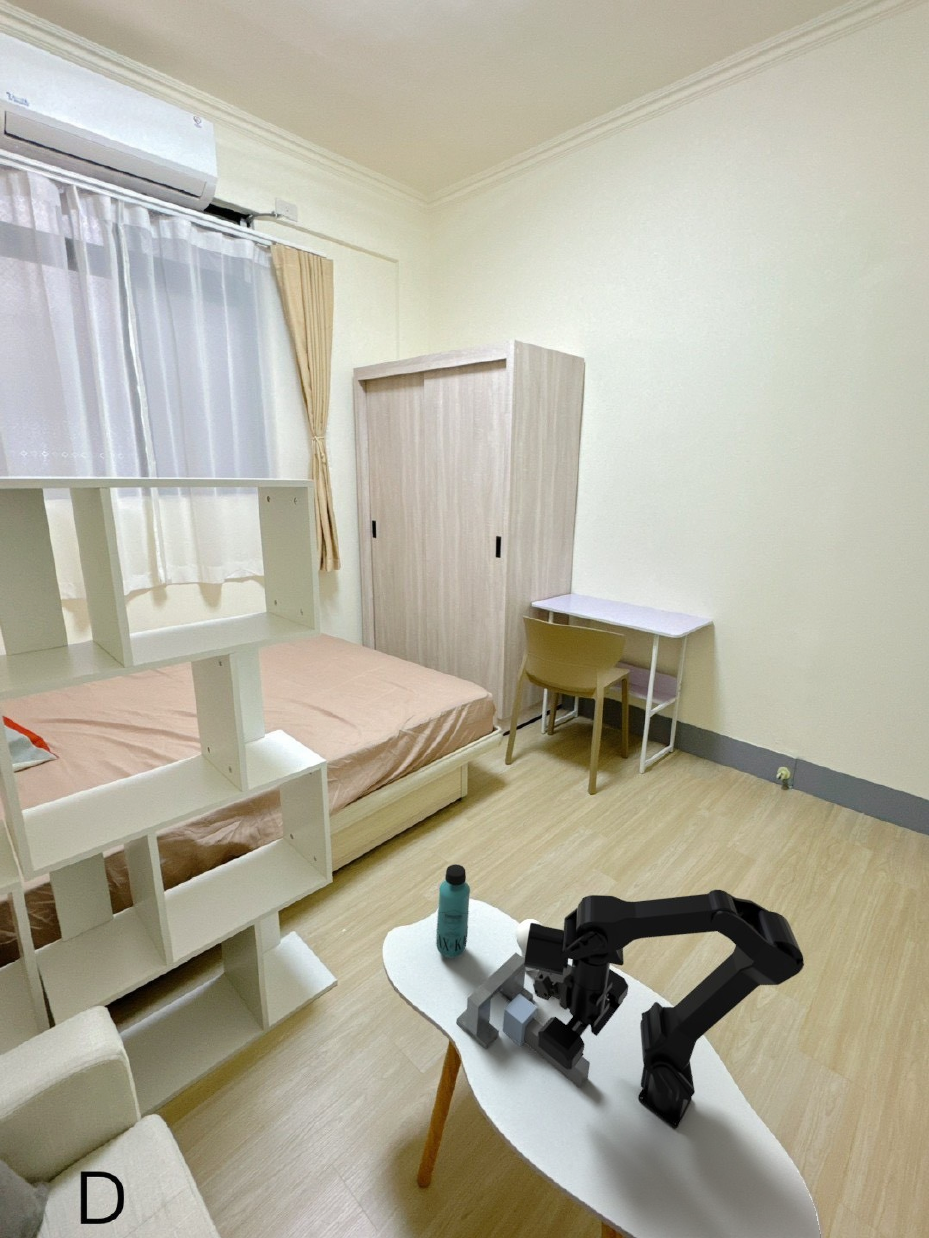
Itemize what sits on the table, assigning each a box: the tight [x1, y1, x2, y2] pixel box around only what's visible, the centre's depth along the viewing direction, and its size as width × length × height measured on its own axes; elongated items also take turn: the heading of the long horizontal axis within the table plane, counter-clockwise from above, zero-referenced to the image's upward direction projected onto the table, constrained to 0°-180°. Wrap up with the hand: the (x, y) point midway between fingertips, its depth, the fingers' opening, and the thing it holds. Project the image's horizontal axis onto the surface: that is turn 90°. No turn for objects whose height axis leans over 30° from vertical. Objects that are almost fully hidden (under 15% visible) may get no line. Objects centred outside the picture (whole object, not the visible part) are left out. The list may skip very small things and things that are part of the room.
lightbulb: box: [515, 918, 544, 972], centre depth 116 cm, size 6×6×11 cm
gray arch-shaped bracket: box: [455, 952, 534, 1050], centre depth 107 cm, size 7×14×8 cm, turn 138°
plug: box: [502, 994, 591, 1090], centre depth 100 cm, size 16×4×5 cm, turn 48°
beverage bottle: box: [435, 863, 471, 958], centre depth 118 cm, size 6×7×20 cm
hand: (580, 1052), depth 95 cm, fingers open, 9 cm apart
